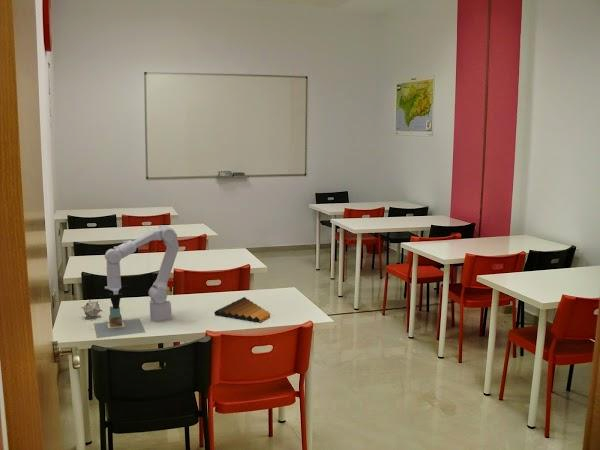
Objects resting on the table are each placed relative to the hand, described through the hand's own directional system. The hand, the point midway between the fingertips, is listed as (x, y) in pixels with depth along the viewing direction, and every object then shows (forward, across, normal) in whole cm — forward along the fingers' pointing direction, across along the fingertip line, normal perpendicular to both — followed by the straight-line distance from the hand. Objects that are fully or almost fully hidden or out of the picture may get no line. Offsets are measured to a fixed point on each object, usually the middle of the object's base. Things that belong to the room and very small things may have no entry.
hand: (115, 306), depth 267 cm
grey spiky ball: (+10, -18, -9) cm, 22 cm away
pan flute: (+11, 0, +63) cm, 64 cm away
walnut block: (+9, 0, 0) cm, 9 cm away
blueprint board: (+10, +4, +1) cm, 10 cm away
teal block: (+5, 0, 0) cm, 5 cm away
